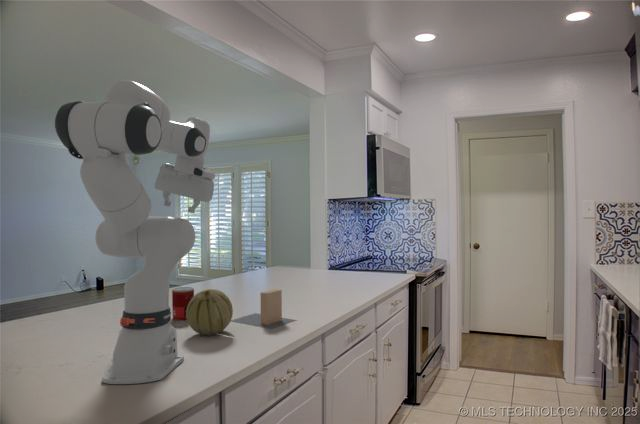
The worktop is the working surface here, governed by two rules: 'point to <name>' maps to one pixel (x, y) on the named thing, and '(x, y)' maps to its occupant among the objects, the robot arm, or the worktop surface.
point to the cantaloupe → (209, 312)
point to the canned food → (181, 301)
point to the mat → (256, 321)
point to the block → (271, 306)
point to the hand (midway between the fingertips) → (178, 209)
